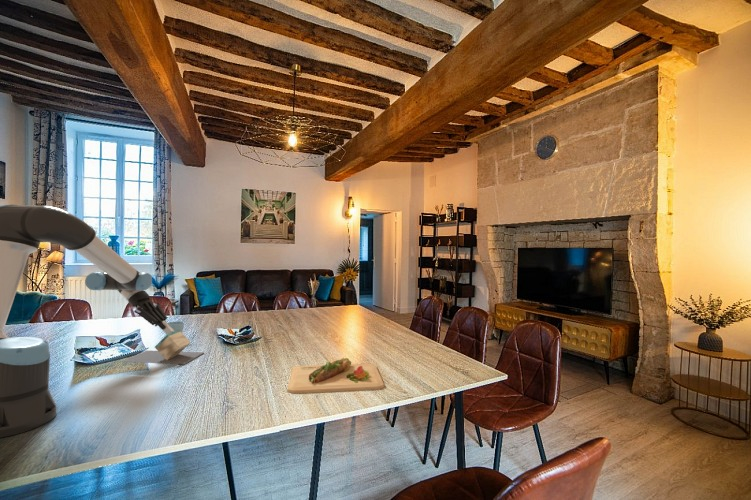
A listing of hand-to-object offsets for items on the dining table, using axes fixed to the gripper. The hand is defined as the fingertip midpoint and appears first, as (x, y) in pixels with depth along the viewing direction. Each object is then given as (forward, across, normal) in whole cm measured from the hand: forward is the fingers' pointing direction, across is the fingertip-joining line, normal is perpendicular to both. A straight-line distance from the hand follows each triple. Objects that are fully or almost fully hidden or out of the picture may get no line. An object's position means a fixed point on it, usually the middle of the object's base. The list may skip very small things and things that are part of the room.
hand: (171, 333), depth 143 cm
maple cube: (0, 0, -3) cm, 3 cm away
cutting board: (+63, +16, +46) cm, 80 cm away
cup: (-1, -22, -17) cm, 28 cm away
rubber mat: (+6, 0, -10) cm, 12 cm away
